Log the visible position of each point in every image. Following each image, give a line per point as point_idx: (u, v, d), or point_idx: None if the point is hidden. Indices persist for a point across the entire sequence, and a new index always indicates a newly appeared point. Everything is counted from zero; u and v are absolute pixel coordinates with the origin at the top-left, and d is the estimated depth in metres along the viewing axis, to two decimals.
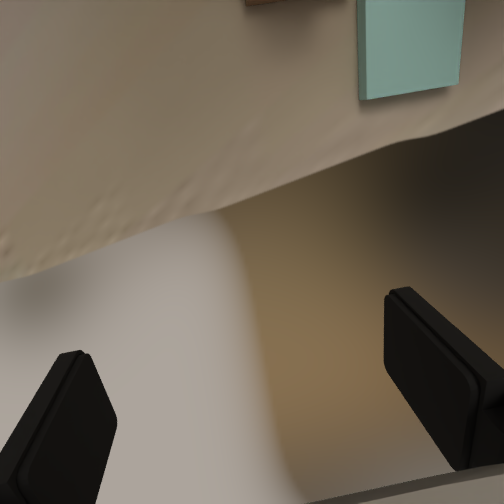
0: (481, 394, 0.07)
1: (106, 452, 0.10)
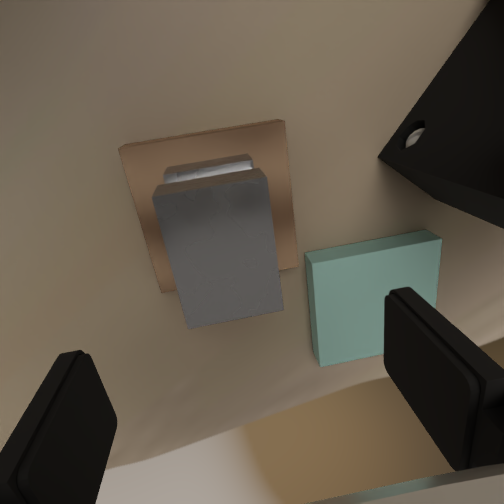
0: (481, 394, 0.07)
1: (106, 452, 0.10)
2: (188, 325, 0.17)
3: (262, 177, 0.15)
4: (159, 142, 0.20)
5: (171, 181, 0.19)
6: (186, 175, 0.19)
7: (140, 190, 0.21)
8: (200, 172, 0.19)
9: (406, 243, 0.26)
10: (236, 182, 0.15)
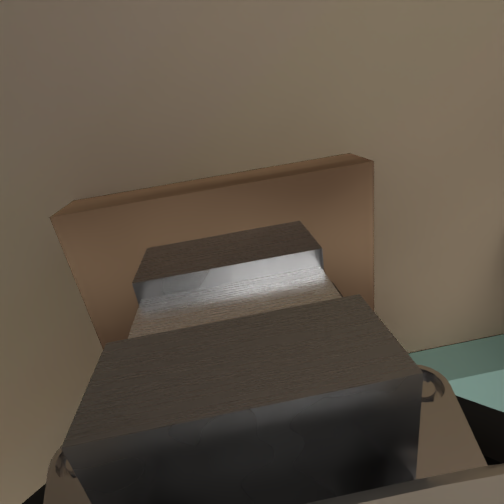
0: None
1: None
2: None
3: (408, 373, 0.05)
4: (131, 204, 0.10)
5: (150, 295, 0.09)
6: (181, 282, 0.09)
7: (97, 289, 0.11)
8: (211, 276, 0.09)
9: None
10: (329, 391, 0.05)
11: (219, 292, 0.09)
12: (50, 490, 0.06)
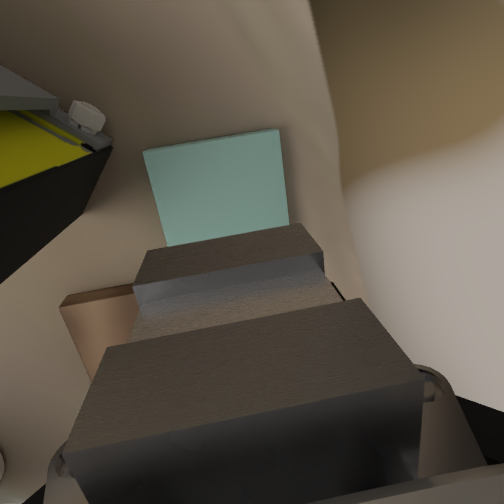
0: None
1: None
2: None
3: (409, 378, 0.05)
4: (89, 376, 0.32)
5: (151, 297, 0.09)
6: (182, 285, 0.09)
7: None
8: (212, 279, 0.09)
9: (152, 187, 0.26)
10: (330, 397, 0.05)
11: (219, 295, 0.09)
12: (50, 490, 0.06)
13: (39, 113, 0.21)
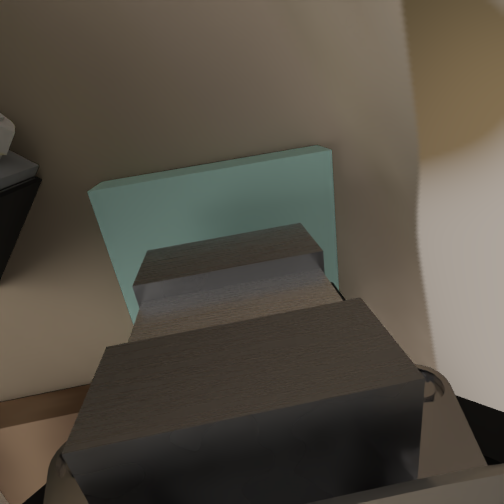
0: None
1: None
2: None
3: (409, 378, 0.05)
4: None
5: (151, 297, 0.09)
6: (182, 285, 0.09)
7: None
8: (212, 278, 0.09)
9: (109, 249, 0.15)
10: (330, 396, 0.05)
11: (219, 295, 0.09)
12: (50, 490, 0.06)
13: None
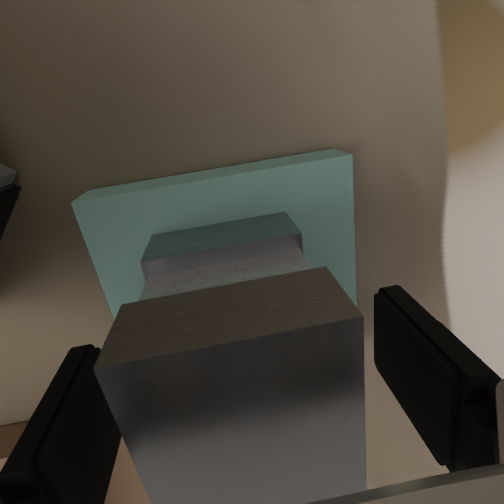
0: (463, 389, 0.07)
1: (116, 444, 0.10)
2: None
3: (352, 316, 0.06)
4: None
5: (155, 272, 0.11)
6: (182, 261, 0.10)
7: None
8: (207, 256, 0.11)
9: (97, 268, 0.13)
10: (292, 329, 0.06)
11: (213, 270, 0.10)
12: None
13: None
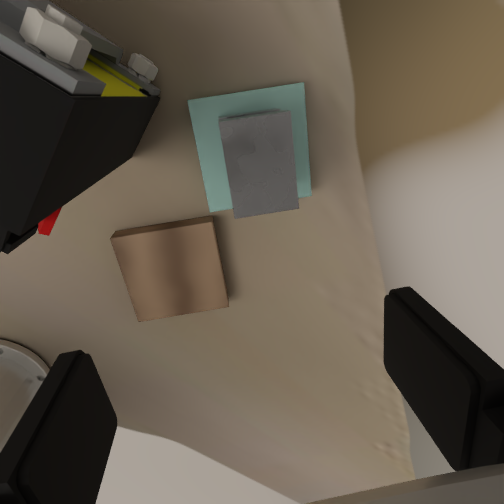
0: (481, 394, 0.07)
1: (106, 452, 0.10)
2: (235, 216, 0.26)
3: (287, 111, 0.23)
4: (132, 303, 0.37)
5: None
6: None
7: (161, 313, 0.37)
8: None
9: (194, 132, 0.30)
10: (271, 114, 0.23)
11: None
12: None
13: (107, 61, 0.26)
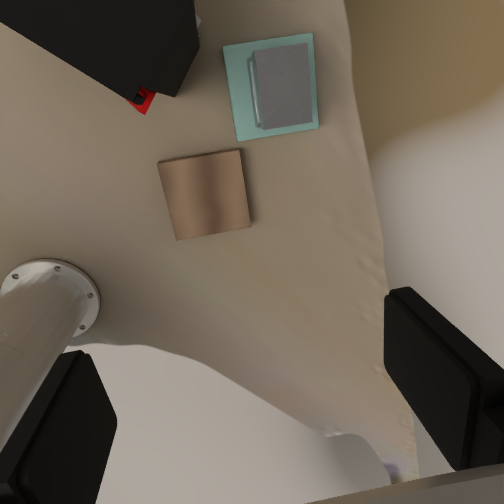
0: (481, 394, 0.07)
1: (106, 452, 0.10)
2: (264, 127, 0.34)
3: None
4: (172, 223, 0.44)
5: (252, 61, 0.36)
6: None
7: (195, 232, 0.45)
8: None
9: (226, 73, 0.38)
10: (293, 44, 0.32)
11: None
12: None
13: None
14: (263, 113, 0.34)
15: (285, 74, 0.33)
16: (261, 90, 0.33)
